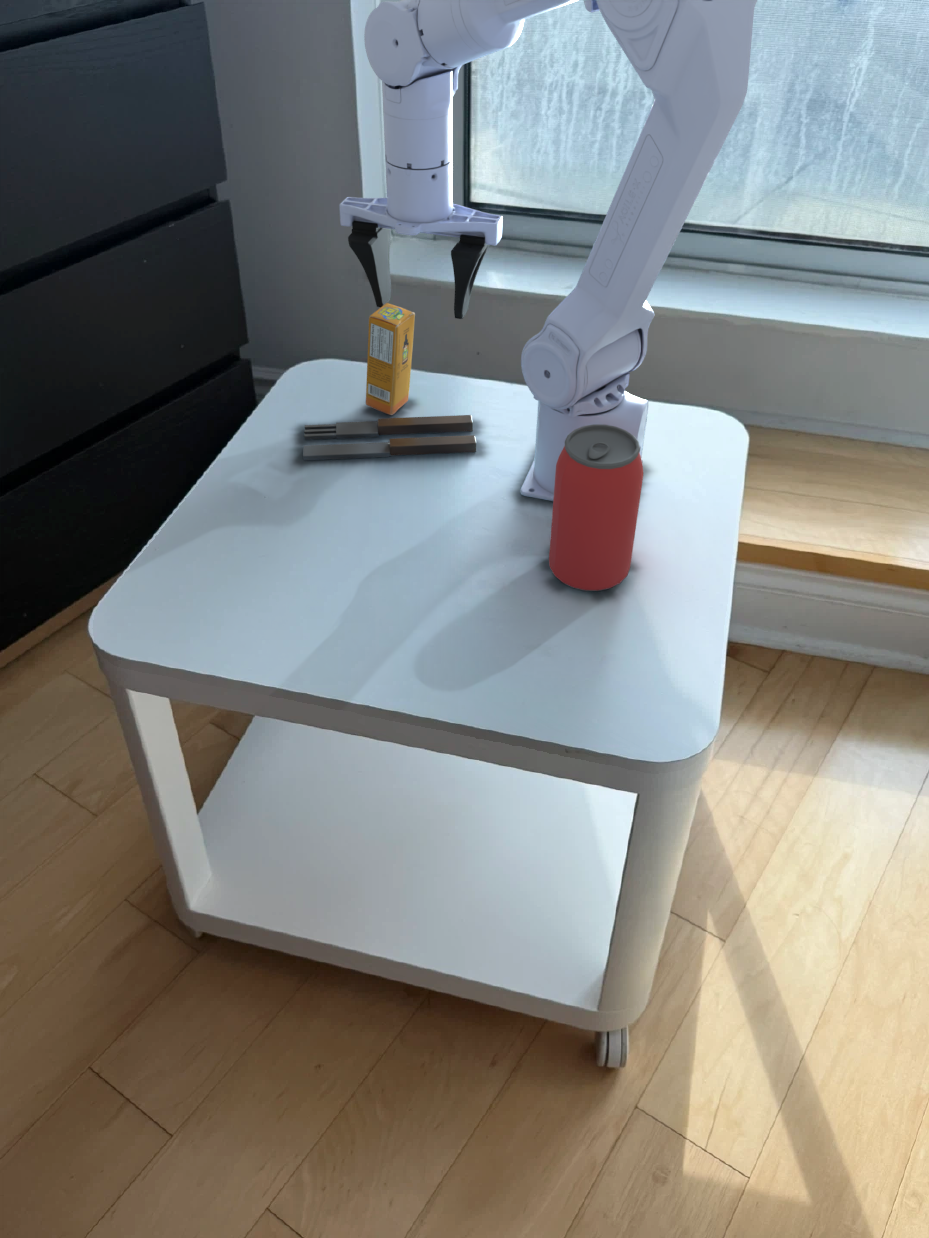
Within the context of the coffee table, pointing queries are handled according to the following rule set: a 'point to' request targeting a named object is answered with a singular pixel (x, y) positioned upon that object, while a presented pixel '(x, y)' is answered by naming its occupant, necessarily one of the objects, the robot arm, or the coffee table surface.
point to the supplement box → (389, 358)
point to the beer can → (595, 507)
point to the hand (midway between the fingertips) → (422, 308)
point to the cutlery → (397, 444)
